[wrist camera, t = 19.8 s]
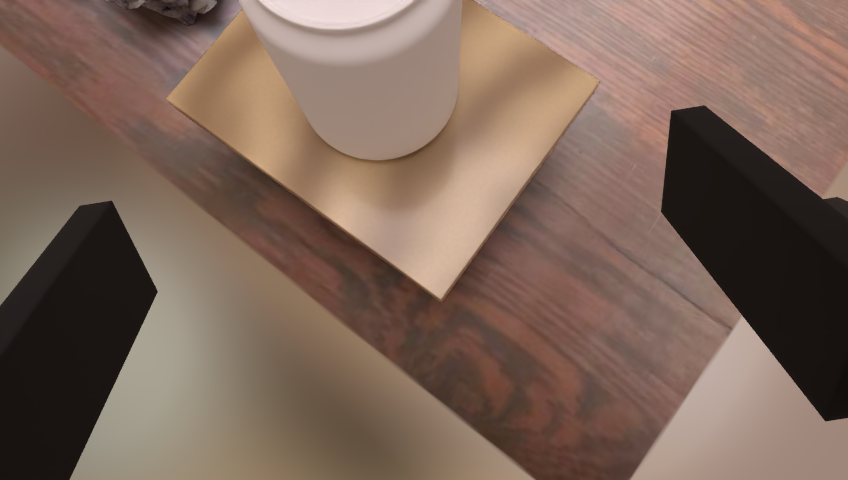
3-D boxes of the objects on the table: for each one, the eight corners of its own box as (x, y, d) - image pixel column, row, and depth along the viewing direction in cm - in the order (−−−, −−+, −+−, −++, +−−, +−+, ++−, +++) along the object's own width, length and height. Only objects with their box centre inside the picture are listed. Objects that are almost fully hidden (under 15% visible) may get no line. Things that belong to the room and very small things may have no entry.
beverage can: (357, -6, 32) (305, -214, 20) (487, 64, 31) (511, -112, 19) (273, 116, 31) (167, -30, 19) (405, 193, 30) (378, 88, 18)
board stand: (565, 144, 40) (601, 80, 31) (442, 313, 38) (441, 300, 29) (353, 4, 43) (327, -93, 33) (229, 157, 41) (165, 98, 31)
